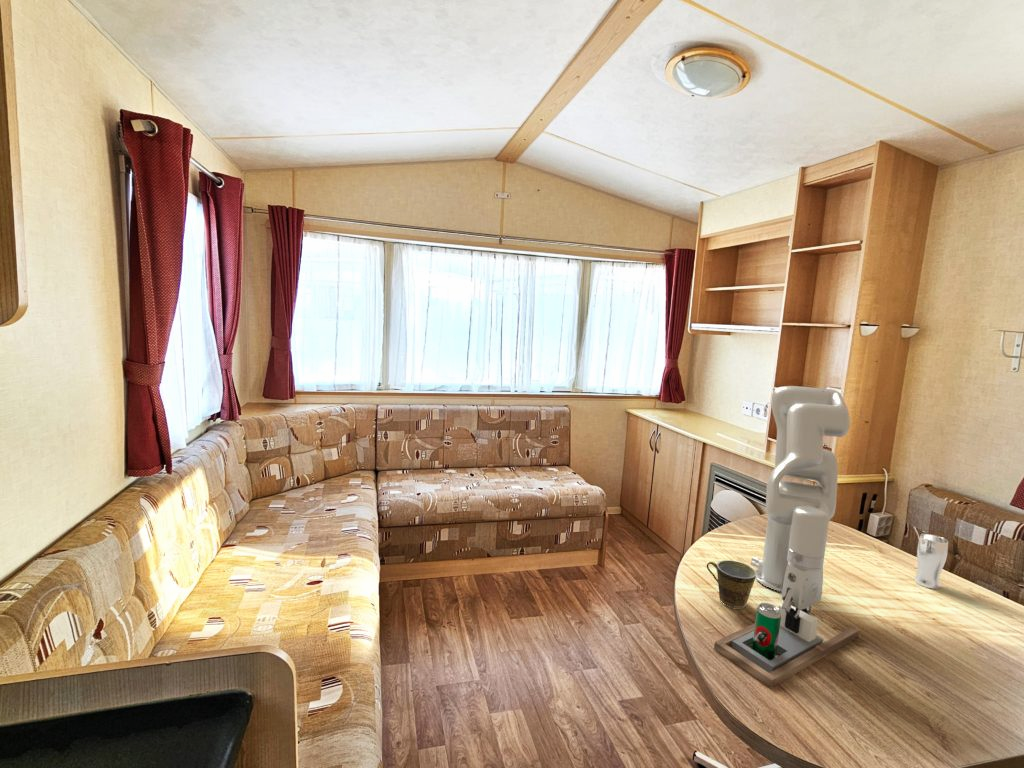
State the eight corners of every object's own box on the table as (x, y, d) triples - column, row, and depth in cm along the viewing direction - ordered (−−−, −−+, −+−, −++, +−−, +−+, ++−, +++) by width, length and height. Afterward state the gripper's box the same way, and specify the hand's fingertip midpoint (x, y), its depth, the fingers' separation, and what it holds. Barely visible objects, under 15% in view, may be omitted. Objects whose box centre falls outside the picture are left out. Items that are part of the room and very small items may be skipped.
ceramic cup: (757, 603, 137) (761, 569, 136) (745, 617, 130) (749, 582, 129) (710, 584, 146) (714, 553, 145) (697, 597, 139) (700, 564, 138)
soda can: (778, 664, 112) (784, 616, 111) (755, 660, 113) (760, 612, 112) (771, 650, 117) (777, 603, 116) (749, 646, 118) (754, 600, 117)
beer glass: (917, 586, 150) (924, 540, 148) (908, 576, 157) (916, 531, 155) (945, 592, 148) (953, 545, 146) (935, 581, 154) (943, 536, 152)
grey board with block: (731, 648, 117) (734, 621, 116) (781, 623, 128) (785, 598, 127) (771, 675, 108) (775, 646, 108) (822, 646, 119) (825, 619, 118)
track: (713, 648, 117) (714, 640, 117) (801, 607, 136) (802, 600, 136) (771, 688, 105) (772, 679, 105) (858, 636, 124) (859, 629, 124)
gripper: (802, 572, 112) (792, 646, 114) (839, 557, 120) (829, 626, 123) (770, 558, 118) (762, 628, 121) (808, 544, 127) (799, 610, 129)
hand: (796, 627), depth 122 cm, fingers open, 3 cm apart
